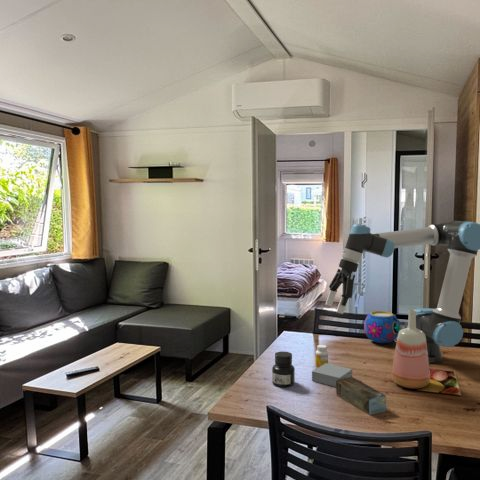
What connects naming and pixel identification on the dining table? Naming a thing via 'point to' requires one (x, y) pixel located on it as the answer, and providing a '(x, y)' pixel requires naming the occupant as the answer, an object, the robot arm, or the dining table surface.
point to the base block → (330, 374)
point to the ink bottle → (283, 370)
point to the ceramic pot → (381, 326)
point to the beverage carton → (361, 395)
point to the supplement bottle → (321, 355)
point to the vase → (411, 357)
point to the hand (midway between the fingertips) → (333, 309)
